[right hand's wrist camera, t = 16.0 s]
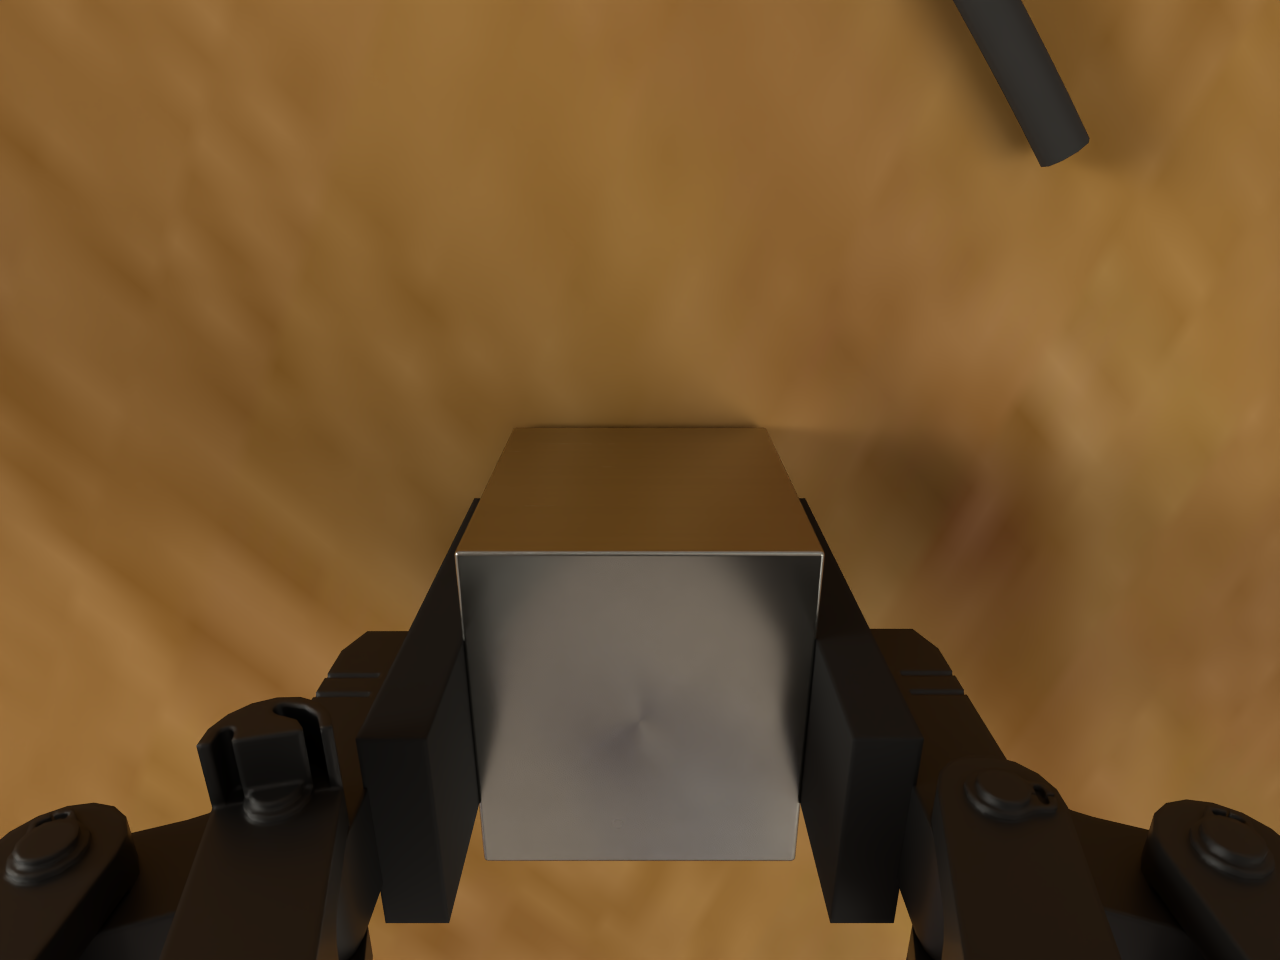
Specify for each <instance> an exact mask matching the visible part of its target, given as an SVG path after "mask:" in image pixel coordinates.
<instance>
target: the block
mask: <svg viewBox="0 0 1280 960" xmlns="http://www.w3.org/2000/svg"><path fill="white" fill-rule="evenodd" d="M824 556H825V553H824V551H823V549H822V546H821V544H820V542H819V540H818V538H817V536H816V534H815V532H814V529H813V527H812V525H811V523H810V521H809V519H808V517H807V515H806V513H805V510H804V508H803V506H802V504H801V502H800V500H799V498H798V496H797V493H796V491H795V489H794V487H793V485H792V483H791V481H790V479H789V477H788V474H787V472H786V470H785V468H784V466H783V464H782V462H781V460H780V457H779V455H778V453H777V451H776V449H775V447H774V445H773V443H772V441H771V438H770V436H769V434H768V432H767V430H766V429H765V428H515V429H513V431H512V433H511V436H510V438H509V440H508V442H507V444H506V446H505V448H504V450H503V452H502V454H501V457H500V459H499V461H498V463H497V465H496V467H495V469H494V471H493V473H492V475H491V478H490V480H489V482H488V484H487V486H486V488H485V490H484V492H483V494H482V496H481V499H480V501H479V503H478V505H477V507H476V509H475V511H474V513H473V515H472V517H471V520H470V522H469V524H468V526H467V528H466V530H465V532H464V534H463V536H462V538H461V541H460V543H459V545H458V547H457V549H456V551H455V564H456V575H457V585H458V595H459V605H460V615H461V625H462V636H463V642H464V652H465V663H466V673H467V683H468V693H469V703H470V714H471V724H472V734H473V744H474V755H475V765H476V775H477V785H478V795H479V809H480V819H481V829H482V839H483V850H484V857H485V859H486V860H488V861H792V860H794V859H795V854H796V844H797V833H798V823H799V813H800V800H801V790H802V779H803V769H804V759H805V749H806V738H807V728H808V718H809V707H810V697H811V687H812V677H813V666H814V656H815V646H816V638H817V628H818V618H819V608H820V597H821V587H822V577H823V567H824Z"/></svg>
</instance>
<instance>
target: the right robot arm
mask: <svg viewBox="0 0 1280 960" xmlns="http://www.w3.org/2000/svg"><path fill="white" fill-rule="evenodd" d="M953 1H954V3H955V5H956V7H957V8H958V10H959V12H960V14H961V16H962V17H963V19H964V21H965V23H966V25H967V27H968V28H969V30H970V32H971V34H972V36H973V37H974V39H975V41H976V43H977V45H978V47H979V48H980V50H981V52H982V54H983V56H984V58H985V59H986V61H987V63H988V65H989V67H990V69H991V71H992V72H993V74H994V76H995V78H996V80H997V82H998V84H999V85H1000V87H1001V89H1002V91H1003V93H1004V95H1005V97H1006V99H1007V101H1008V103H1009V105H1010V106H1011V108H1012V110H1013V112H1014V114H1015V116H1016V118H1017V120H1018V122H1019V124H1020V126H1021V128H1022V130H1023V132H1024V134H1025V136H1026V138H1027V140H1028V142H1029V144H1030V146H1031V148H1032V150H1033V152H1034V154H1035V156H1036V158H1037V160H1038V162H1039V164H1040V166H1041V167H1046V166H1051V165H1053V164H1056V163H1058V162H1060V161H1063V160H1065V159H1066V158H1068V157H1070V156H1071V155H1073V154H1075V153H1076V152H1078V151H1079V150H1081V149H1082V148H1083V147H1084V146H1085V145H1086V144H1088V143H1089V136H1088V134H1087V132H1086V130H1085V128H1084V126H1083V124H1082V122H1081V119H1080V117H1079V115H1078V113H1077V111H1076V109H1075V107H1074V105H1073V102H1072V100H1071V98H1070V96H1069V94H1068V92H1067V90H1066V88H1065V86H1064V84H1063V82H1062V80H1061V78H1060V76H1059V74H1058V72H1057V70H1056V68H1055V66H1054V64H1053V62H1052V60H1051V58H1050V56H1049V54H1048V52H1047V50H1046V48H1045V46H1044V44H1043V42H1042V40H1041V38H1040V36H1039V34H1038V32H1037V30H1036V28H1035V26H1034V24H1033V22H1032V20H1031V18H1030V17H1029V15H1028V13H1027V11H1026V9H1025V7H1024V5H1023V3H1022V1H1021V0H953ZM480 499H481V498H474V500H473V502H472V504H471V506H470V508H469V510H468V512H467V514H466V516H465V519H464V521H463V523H462V525H461V527H460V529H459V531H458V533H457V535H456V537H455V539H454V541H453V543H452V545H451V547H450V549H449V551H448V553H447V555H446V557H445V559H444V561H443V563H442V565H441V567H440V569H439V571H438V573H437V575H436V577H435V579H434V581H433V583H432V585H431V587H430V589H429V591H428V593H427V595H426V597H425V599H424V601H423V603H422V605H421V607H420V609H419V611H418V613H417V615H416V617H415V619H414V621H413V623H412V625H411V627H410V629H409V631H367V632H366V633H365V634H363V635H362V636H361V637H359V638H358V639H357V640H355V641H354V642H353V643H351V644H350V645H349V646H347V647H346V648H345V649H344V650H342V651H341V653H340V654H339V656H338V658H337V659H336V661H335V663H334V664H333V666H332V668H331V669H330V671H329V672H328V678H325V679H324V681H323V682H322V684H321V685H320V687H319V689H318V690H317V692H316V697H313V698H312V700H309V699H306V698H302V697H279V698H273V699H269V700H265V701H261V702H256V703H252V704H250V705H248V706H245V707H243V708H241V709H239V710H237V711H234V712H232V713H230V714H228V715H227V716H225V717H224V718H223V719H221V720H220V721H219V722H217V723H216V724H215V725H213V726H212V727H211V728H209V729H208V730H207V732H206V733H205V734H204V736H203V737H202V739H201V740H200V741H199V743H198V744H197V750H198V754H199V758H200V762H201V766H202V770H203V774H204V777H205V781H206V785H207V789H208V793H209V797H210V801H211V805H212V811H211V812H210V813H208V814H205V815H202V816H199V817H195V818H192V819H189V820H185V821H181V822H177V823H172V824H168V825H164V826H160V827H155V828H151V829H147V830H143V831H138V832H134V833H131V831H130V828H129V825H128V822H127V818H126V816H125V815H123V814H122V813H121V812H120V811H119V810H118V809H117V808H116V807H114V806H109V805H104V804H98V803H88V804H80V805H73V806H66V807H64V808H61V809H58V810H55V811H52V812H49V813H46V814H43V815H40V816H38V817H36V818H34V819H32V820H30V821H28V822H27V823H25V824H23V825H21V826H19V827H18V828H16V829H14V830H12V831H10V832H9V833H8V834H6V835H5V836H4V837H3V838H2V839H0V960H373V955H372V948H371V942H370V936H369V930H368V924H369V921H370V919H371V916H372V913H373V910H374V907H375V905H376V902H377V899H378V896H379V893H380V891H381V897H382V903H383V910H384V916H385V922H386V923H449V921H450V917H451V913H452V909H453V905H454V901H455V897H456V893H457V889H458V885H459V881H460V877H461V874H462V870H463V866H464V862H465V858H466V854H467V850H468V846H469V842H470V838H471V834H472V830H473V826H474V822H475V818H476V814H477V810H478V806H479V795H478V785H477V775H476V765H475V755H474V744H473V734H472V724H471V714H470V703H469V693H468V683H467V673H466V663H465V652H464V642H463V636H462V625H461V615H460V605H459V595H458V585H457V575H456V564H455V551H456V549H457V547H458V545H459V543H460V541H461V538H462V536H463V534H464V532H465V530H466V528H467V526H468V524H469V522H470V520H471V517H472V515H473V513H474V511H475V509H476V507H477V505H478V503H479V501H480ZM799 500H800V502H801V504H802V506H803V508H804V510H805V513H806V515H807V517H808V519H809V521H810V523H811V525H812V527H813V529H814V532H815V534H816V536H817V538H818V540H819V542H820V544H821V546H822V549H823V551H824V553H825V556H824V567H823V577H822V587H821V597H820V608H819V618H818V628H817V638H816V646H815V656H814V666H813V677H812V687H811V697H810V707H809V718H808V728H807V738H806V749H805V759H804V769H803V779H802V790H801V800H800V804H801V808H802V812H803V816H804V820H805V824H806V828H807V832H808V836H809V840H810V844H811V848H812V852H813V856H814V860H815V864H816V868H817V872H818V876H819V880H820V884H821V888H822V892H823V895H824V899H825V903H826V907H827V911H828V915H829V919H830V923H894V918H895V912H896V906H897V900H898V894H899V888H900V891H901V894H902V897H903V899H904V902H905V905H906V908H907V911H908V913H909V916H910V919H911V922H912V930H911V936H910V941H909V947H908V953H907V958H906V960H1280V835H1278V834H1277V833H1276V832H1275V831H1273V830H1272V829H1271V828H1269V827H1267V826H1265V825H1264V824H1262V823H1260V822H1258V821H1256V820H1254V819H1253V818H1251V817H1249V816H1247V815H1245V814H1244V813H1241V812H1238V811H1235V810H1232V809H1230V808H1227V807H1224V806H1221V805H1218V804H1215V803H1210V802H1202V801H1194V800H1181V801H1175V802H1170V803H1166V804H1164V805H1163V806H1162V807H1161V808H1160V809H1159V810H1158V811H1157V812H1155V813H1154V816H1153V819H1152V822H1151V826H1150V829H1149V830H1147V829H1142V828H1138V827H1134V826H1130V825H1125V824H1121V823H1117V822H1112V821H1108V820H1104V819H1100V818H1095V817H1091V816H1088V815H1085V814H1082V813H1078V812H1075V811H1072V810H1070V809H1068V807H1067V805H1066V804H1065V802H1064V800H1063V799H1062V797H1061V796H1060V794H1059V792H1058V791H1057V789H1055V788H1054V787H1053V786H1052V785H1051V784H1050V783H1048V782H1047V781H1046V780H1045V779H1044V778H1043V777H1041V776H1040V775H1039V774H1038V773H1036V772H1034V771H1032V770H1030V769H1028V768H1026V767H1024V766H1022V765H1020V764H1018V763H1016V762H1013V761H1009V760H1007V759H1006V758H1005V756H1004V754H1003V753H1002V751H1001V749H1000V748H999V746H998V745H997V743H996V741H995V740H994V738H993V737H992V735H991V733H990V732H989V730H988V728H987V727H986V725H985V724H984V722H983V720H982V719H981V717H980V715H979V714H978V712H977V711H976V709H975V707H974V706H973V704H972V702H971V701H970V699H969V698H968V696H967V695H964V690H963V688H962V686H961V685H960V683H959V681H958V680H957V678H956V677H955V676H953V675H952V670H951V668H950V667H949V665H948V664H947V662H946V660H945V659H944V657H943V655H942V654H941V652H940V651H939V649H938V648H937V647H936V646H934V645H933V644H932V643H930V642H929V641H928V640H926V639H925V638H924V637H922V636H921V635H920V634H918V633H917V632H916V631H914V630H913V629H869V627H868V625H867V623H866V621H865V618H864V616H863V614H862V612H861V610H860V608H859V606H858V604H857V602H856V600H855V598H854V596H853V594H852V592H851V590H850V588H849V586H848V584H847V582H846V580H845V578H844V576H843V574H842V572H841V570H840V568H839V566H838V564H837V562H836V560H835V558H834V556H833V554H832V552H831V550H830V548H829V546H828V544H827V542H826V540H825V538H824V536H823V534H822V532H821V530H820V528H819V526H818V524H817V522H816V520H815V518H814V516H813V514H812V511H811V509H810V507H809V505H808V503H807V501H806V499H805V498H799Z"/></svg>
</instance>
